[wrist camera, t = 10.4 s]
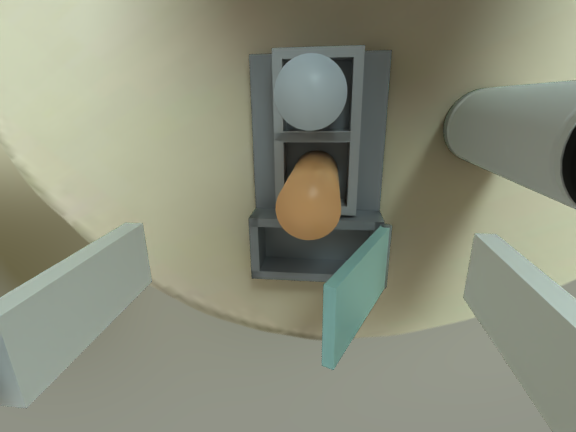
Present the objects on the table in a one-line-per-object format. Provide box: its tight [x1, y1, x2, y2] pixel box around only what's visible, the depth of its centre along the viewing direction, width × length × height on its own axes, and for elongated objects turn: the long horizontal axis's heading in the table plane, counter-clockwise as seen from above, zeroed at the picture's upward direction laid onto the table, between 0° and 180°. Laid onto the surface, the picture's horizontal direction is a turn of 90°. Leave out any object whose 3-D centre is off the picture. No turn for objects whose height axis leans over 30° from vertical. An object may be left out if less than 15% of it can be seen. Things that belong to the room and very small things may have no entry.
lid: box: [322, 224, 392, 370], centre depth 26 cm, size 6×12×1 cm
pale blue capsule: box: [274, 53, 347, 131], centre depth 24 cm, size 4×4×12 cm
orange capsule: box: [276, 150, 341, 240], centre depth 26 cm, size 4×4×12 cm
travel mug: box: [443, 80, 576, 209], centre depth 21 cm, size 6×7×20 cm
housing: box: [249, 45, 392, 282], centre depth 31 cm, size 20×12×4 cm, turn 1°
